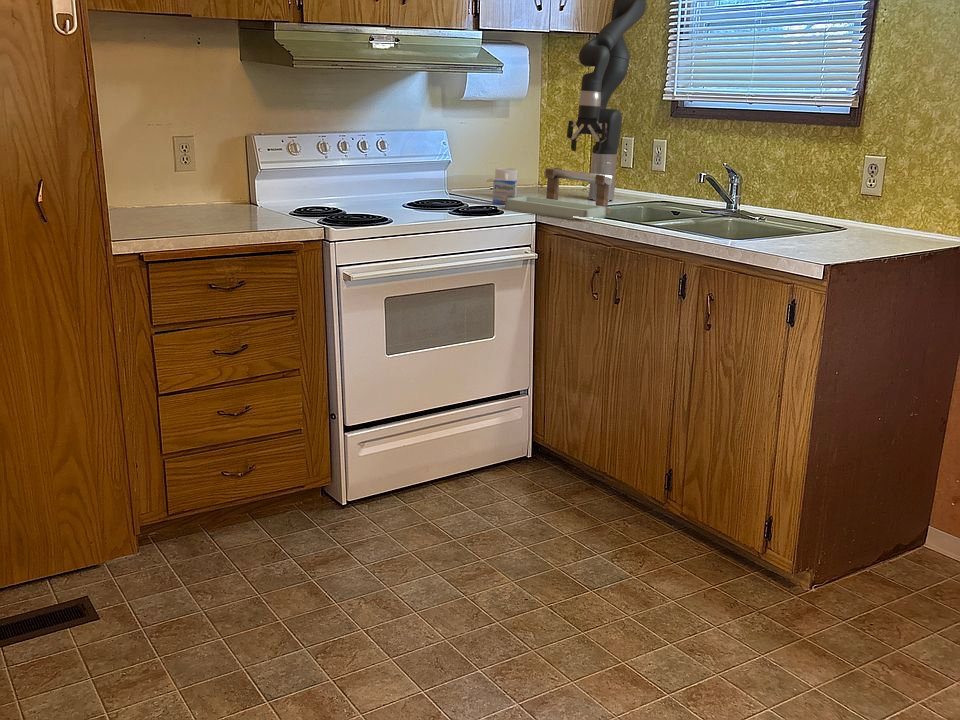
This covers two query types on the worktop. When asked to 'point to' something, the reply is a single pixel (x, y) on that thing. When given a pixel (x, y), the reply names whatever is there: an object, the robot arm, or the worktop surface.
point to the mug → (506, 174)
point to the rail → (580, 176)
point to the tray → (554, 207)
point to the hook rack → (600, 180)
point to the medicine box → (503, 190)
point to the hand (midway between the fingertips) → (585, 151)
